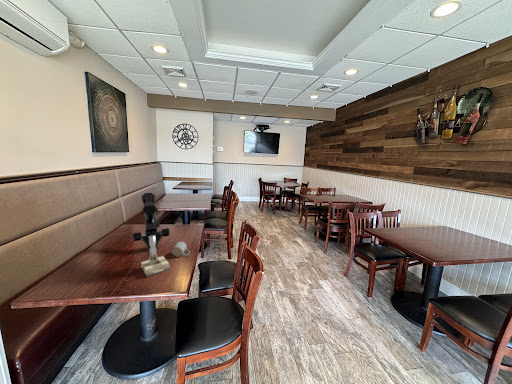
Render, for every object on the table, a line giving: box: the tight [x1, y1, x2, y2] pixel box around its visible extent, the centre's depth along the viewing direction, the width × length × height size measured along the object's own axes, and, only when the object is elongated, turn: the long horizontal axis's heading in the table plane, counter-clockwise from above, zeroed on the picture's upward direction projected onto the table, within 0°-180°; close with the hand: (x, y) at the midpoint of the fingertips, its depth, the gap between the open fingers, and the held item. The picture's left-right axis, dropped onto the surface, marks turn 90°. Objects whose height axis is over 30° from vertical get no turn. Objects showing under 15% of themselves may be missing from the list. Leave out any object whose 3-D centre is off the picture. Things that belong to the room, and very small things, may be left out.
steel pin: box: [148, 235, 158, 261], centre depth 118 cm, size 4×4×14 cm
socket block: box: [140, 255, 171, 278], centre depth 120 cm, size 12×12×4 cm
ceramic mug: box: [171, 241, 191, 258], centre depth 138 cm, size 11×8×8 cm
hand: (152, 248), depth 116 cm, fingers closed on steel pin, 4 cm apart
